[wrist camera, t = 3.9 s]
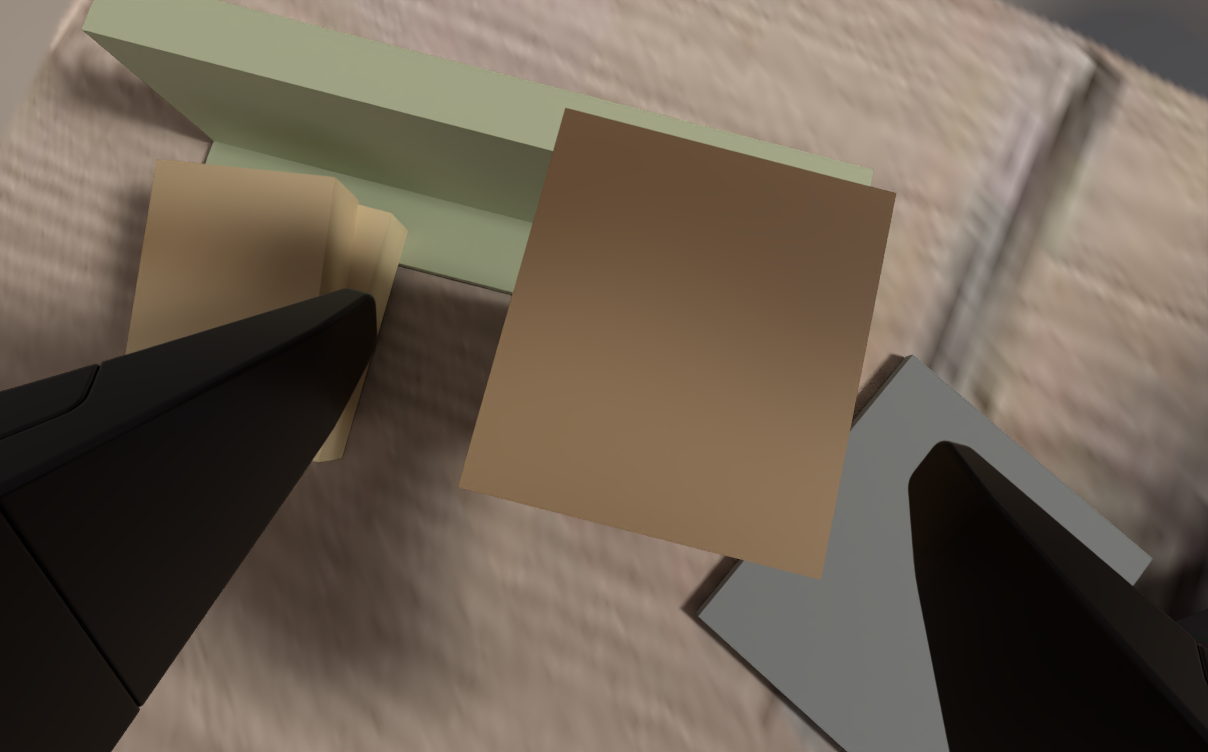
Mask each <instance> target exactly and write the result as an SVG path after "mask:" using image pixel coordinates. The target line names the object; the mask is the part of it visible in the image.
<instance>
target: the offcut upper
mask: <svg viewBox="0 0 1208 752" xmlns="http://www.w3.org/2000/svg"><path fill="white" fill-rule="evenodd" d="M358 203H359V200H358V199H357V198H356V197H355V196H354V195H353V194H352V193H351V192H350V191H349V190H348V189H347V188H346V187H345V186H344V185H343V184H342V183H341V182H340V181H339V180H338V179H337V178H335V177H330V176H320V175H310V174H300V173H290V172H280V171H270V170H260V169H250V168H240V167H230V166H220V165H210V164H200V163H190V162H180V161H170V160H160V159H157V160H156V166H155V173H154V179H153V185H152V191H151V198H150V204H149V210H148V216H147V222H146V229H145V235H144V241H143V247H142V253H141V260H140V266H139V272H138V278H137V285H136V291H135V297H134V303H133V309H132V316H131V322H130V328H129V334H128V341H127V347H126V353H125V355H126V354H129V353H133V352H136V351H139V350H142V349H146V348H149V347H152V346H156V345H159V344H162V343H166V342H169V341H172V340H175V339H179V338H182V337H185V336H189V335H192V334H195V333H199V332H202V331H205V330H208V329H212V328H215V327H218V326H222V325H225V324H228V323H232V322H235V321H238V320H241V319H245V318H248V317H251V316H255V315H258V314H261V313H265V312H268V311H271V310H274V309H278V308H281V307H284V306H288V305H291V304H294V303H298V302H301V301H304V300H307V299H311V298H314V297H317V296H321V295H324V294H327V293H331V292H334V291H337V290H340V289H344V288H347V286H348V279H349V271H350V264H351V256H352V248H353V241H354V233H355V225H356V218H357V210H358Z"/></svg>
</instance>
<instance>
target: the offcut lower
mask: <svg viewBox="0 0 1208 752" xmlns="http://www.w3.org/2000/svg"><path fill="white" fill-rule="evenodd" d="M407 233H408V230H407V229H406V228H405V227H404V226H403V225H402V224H401V223H400V222H399V221H398V220H397V218H396V217H395V216H394V215H393V214H392V213H390V212H386V211H382V210H378V209H374V208H370V207H366V206H362V205H359V204H358V210H357V218H356V225H355V233H354V241H353V248H352V256H351V264H350V271H349V279H348V286H347V288H351V289H355V290H359V291H363V292H366V293H370V294H371V295H372V296H373V297H374V298H375V301H376V313H377V333H379V329H380V326H381V322H382V319H383V315H384V312H385V309H386V305H387V302H388V298H389V295H390V291H391V288H392V285H393V281H394V278H395V274H396V271H397V267H398V264H399V261H400V257H401V254H402V250H403V247H404V243H405V240H406V237H407ZM369 363H370V362H369ZM368 367H369V364H368V365H367V367H366V369H365V371H364V373H363V375H362V377H361V379H360V381H359V383H358V385H357V386H356V388H355V390H354V392H353V394H352V396H351V398H350V400H349V402H348V404H347V406H346V408H345V409H344V411H343V413H342V415H341V417H340V419H339V421H338V422H337V424H336V426H335V428H334V429H333V431H332V432H331V434H330V435H329V437H328V438H327V440H326V441H325V443H324V444H323V446H322V447H321V449H320V450H319V451H318V453H317V454H316V456H315V457H314V459H313V460H312V461H314V462H323V461H330V460H337V459H342V456H343V453H344V449H345V446H346V442H347V439H348V436H349V432H350V429H351V425H352V422H353V418H354V415H355V412H356V408H357V405H358V401H359V398H360V394H361V391H362V388H363V384H364V381H365V377H366V374H367V370H368Z"/></svg>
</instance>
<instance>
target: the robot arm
mask: <svg viewBox="0 0 1208 752" xmlns="http://www.w3.org/2000/svg"><path fill="white" fill-rule="evenodd" d="M377 340H378V333H377V313H376V301H375V298H374V297H373V296H372V295H371V294H370V293H366V292H363V291H359V290H355V289H351V288H344V289H340V290H337V291H334V292H331V293H327V294H324V295H321V296H317V297H314V298H311V299H307V300H304V301H301V302H298V303H294V304H291V305H288V306H284V307H281V308H278V309H274V310H271V311H268V312H265V313H261V314H258V315H255V316H251V317H248V318H245V319H241V320H238V321H235V322H232V323H228V324H225V325H222V326H218V327H215V328H212V329H208V330H205V331H202V332H199V333H195V334H192V335H189V336H185V337H182V338H179V339H175V340H172V341H169V342H166V343H162V344H159V345H156V346H152V347H149V348H146V349H142V350H139V351H136V352H133V353H129V354H126V355H123V356H119V357H116V358H113V359H109V360H106V361H103V362H102V363H101V365H100V366H99V365H98V364H92V365H89V366H86V367H83V368H79V369H76V370H73V371H70V372H67V373H63V374H60V375H56V376H53V377H49V378H46V379H42V380H39V381H35V382H32V383H29V384H25V385H22V386H18V387H15V388H11V389H7V390H4V391H0V752H111V751H112V750H113V749H114V747H115V746H116V744H117V743H118V741H119V740H120V738H121V737H122V736H123V734H124V733H125V731H126V730H127V728H128V727H129V725H130V724H131V723H132V721H133V720H134V718H135V717H136V715H137V714H138V712H139V711H140V708H139V707H140V706H142V705H143V704H144V703H145V702H146V700H147V699H148V697H149V696H150V694H151V693H152V691H153V690H154V689H155V687H156V686H157V684H158V683H159V681H160V680H161V678H162V677H163V676H164V674H165V673H166V671H167V670H168V668H169V667H170V665H171V664H172V663H173V661H174V660H175V658H176V657H177V655H178V654H179V652H180V651H181V650H182V648H183V647H184V645H185V644H186V642H187V641H188V639H189V638H190V637H191V635H192V634H193V632H194V631H195V629H196V628H197V626H198V625H199V624H200V622H201V621H202V619H203V618H204V616H205V615H206V613H207V612H208V610H209V609H210V608H211V606H212V605H213V603H214V602H215V600H216V599H217V597H218V596H219V595H220V593H221V592H222V590H223V589H224V587H225V586H226V584H227V583H228V582H229V580H230V579H231V577H232V576H233V574H234V573H235V571H236V570H237V569H238V567H239V566H240V564H241V563H242V561H243V560H244V558H245V557H246V556H247V554H248V553H249V551H250V550H251V548H252V547H253V545H254V544H255V543H256V541H257V540H258V538H259V537H260V535H261V534H262V532H263V531H264V530H265V528H266V527H267V525H268V524H269V522H270V521H271V519H272V518H273V517H274V515H275V514H276V512H277V511H278V509H279V508H280V506H281V505H282V504H283V502H284V501H285V499H286V498H287V496H288V495H289V493H290V492H291V491H292V489H293V488H294V486H295V485H296V483H297V482H298V480H299V479H300V478H301V476H302V475H303V473H304V472H305V470H306V469H307V467H308V466H309V465H310V463H311V462H312V460H313V459H314V457H315V456H316V454H317V453H318V451H319V450H320V449H321V447H322V446H323V444H324V443H325V441H326V440H327V438H328V437H329V435H330V434H331V432H332V431H333V429H334V428H335V426H336V424H337V422H338V421H339V419H340V417H341V415H342V413H343V411H344V409H345V408H346V406H347V404H348V402H349V400H350V398H351V396H352V394H353V392H354V390H355V388H356V386H357V385H358V383H359V381H360V379H361V377H362V375H363V373H364V371H365V369H366V367H367V365H368V364H369V362H370V360H371V358H372V356H373V354H374V352H375V349H376V346H377ZM908 498H909V511H910V524H911V537H912V550H913V562H914V571H915V578H916V584H917V590H918V595H919V600H920V606H921V611H922V616H923V621H924V626H925V631H926V636H927V641H928V646H929V652H930V657H931V662H932V667H933V672H934V677H935V682H936V687H937V692H938V698H939V703H940V708H941V713H942V718H943V723H944V728H945V733H946V738H947V743H948V749H949V752H1208V649H1206V648H1205V647H1204V646H1203V645H1201V644H1197V643H1196V640H1195V639H1194V638H1193V637H1192V636H1191V635H1190V634H1189V633H1188V632H1186V631H1185V630H1184V629H1183V628H1182V627H1181V626H1179V625H1178V624H1177V623H1176V622H1175V621H1173V620H1172V619H1171V618H1170V617H1169V616H1168V615H1166V614H1165V613H1164V612H1163V611H1162V610H1161V609H1159V608H1158V607H1157V606H1156V605H1155V604H1154V603H1152V602H1151V601H1150V600H1149V599H1148V598H1147V597H1145V596H1144V595H1143V594H1142V593H1141V592H1140V591H1138V590H1137V589H1136V588H1135V587H1134V586H1133V585H1131V584H1130V583H1129V582H1128V581H1127V580H1126V579H1124V578H1123V577H1122V576H1121V575H1120V574H1119V573H1117V572H1116V571H1115V570H1114V569H1113V568H1112V567H1110V566H1109V565H1108V564H1107V563H1106V562H1104V561H1103V560H1102V559H1101V558H1100V557H1099V556H1097V555H1096V554H1095V553H1094V552H1093V551H1092V550H1090V549H1089V548H1088V547H1087V546H1086V545H1085V544H1083V543H1082V542H1081V541H1080V540H1079V539H1078V538H1076V537H1075V536H1074V535H1073V534H1072V533H1071V532H1069V531H1068V530H1067V529H1066V528H1065V527H1064V526H1062V525H1061V524H1060V523H1059V522H1058V521H1057V520H1055V519H1054V518H1053V517H1052V516H1051V515H1050V514H1048V513H1047V512H1046V511H1045V510H1044V509H1043V508H1041V507H1040V506H1039V505H1038V504H1037V503H1035V502H1034V501H1033V500H1032V499H1031V498H1030V497H1028V496H1027V495H1026V494H1025V493H1024V492H1023V491H1021V490H1020V489H1019V488H1018V487H1017V486H1016V485H1014V484H1013V483H1012V482H1011V481H1010V480H1009V479H1007V478H1006V477H1005V476H1004V475H1003V474H1002V473H1000V472H999V471H998V470H997V469H996V468H995V467H993V466H992V465H991V464H990V463H989V462H988V461H986V460H985V459H984V458H983V457H982V456H981V455H979V454H978V453H977V452H976V451H975V450H974V449H972V448H971V447H969V446H967V445H963V444H959V443H955V442H951V441H947V440H944V441H940V442H938V443H936V444H935V445H934V446H933V447H932V449H931V450H930V451H929V453H928V454H927V455H926V456H925V458H924V459H923V460H922V461H921V463H920V464H919V465H918V466H917V468H916V469H915V470H914V472H913V473H912V475H911V477H910V479H909V482H908Z"/></svg>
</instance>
